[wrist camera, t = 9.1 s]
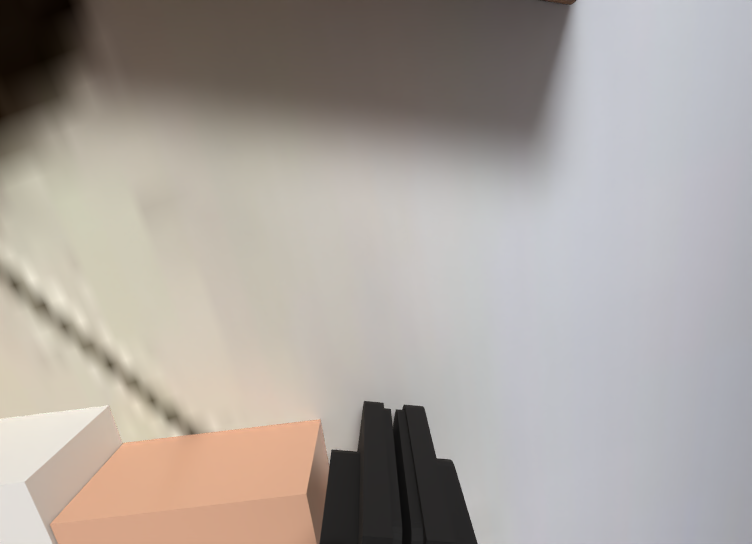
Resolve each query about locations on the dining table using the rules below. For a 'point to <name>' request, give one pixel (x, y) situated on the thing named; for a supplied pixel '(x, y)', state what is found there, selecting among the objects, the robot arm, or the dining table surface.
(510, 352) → the dining table surface
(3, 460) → the white square tile
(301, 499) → the terracotta tile
